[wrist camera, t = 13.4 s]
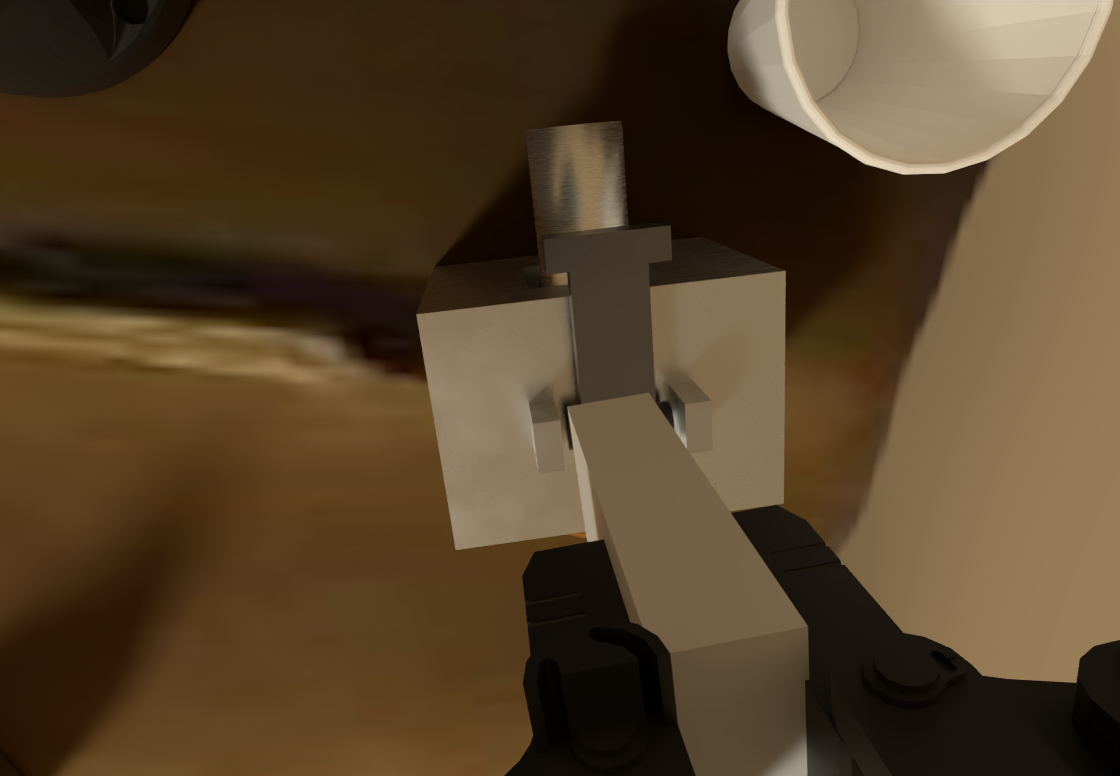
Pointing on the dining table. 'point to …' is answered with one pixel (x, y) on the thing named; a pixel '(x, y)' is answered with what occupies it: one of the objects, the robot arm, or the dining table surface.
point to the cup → (914, 71)
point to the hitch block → (551, 386)
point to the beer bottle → (7, 767)
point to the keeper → (610, 307)
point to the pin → (576, 183)
